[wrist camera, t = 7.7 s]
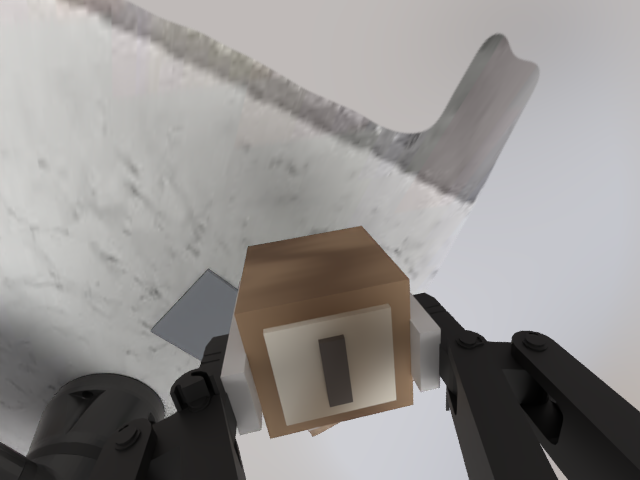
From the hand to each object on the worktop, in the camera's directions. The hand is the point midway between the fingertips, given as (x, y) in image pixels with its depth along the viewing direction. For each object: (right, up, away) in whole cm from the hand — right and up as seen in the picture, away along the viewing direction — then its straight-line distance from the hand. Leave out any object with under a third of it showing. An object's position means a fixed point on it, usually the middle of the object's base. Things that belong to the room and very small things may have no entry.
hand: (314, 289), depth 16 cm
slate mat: (-14, -9, +25) cm, 30 cm away
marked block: (0, 0, 0) cm, 0 cm away
